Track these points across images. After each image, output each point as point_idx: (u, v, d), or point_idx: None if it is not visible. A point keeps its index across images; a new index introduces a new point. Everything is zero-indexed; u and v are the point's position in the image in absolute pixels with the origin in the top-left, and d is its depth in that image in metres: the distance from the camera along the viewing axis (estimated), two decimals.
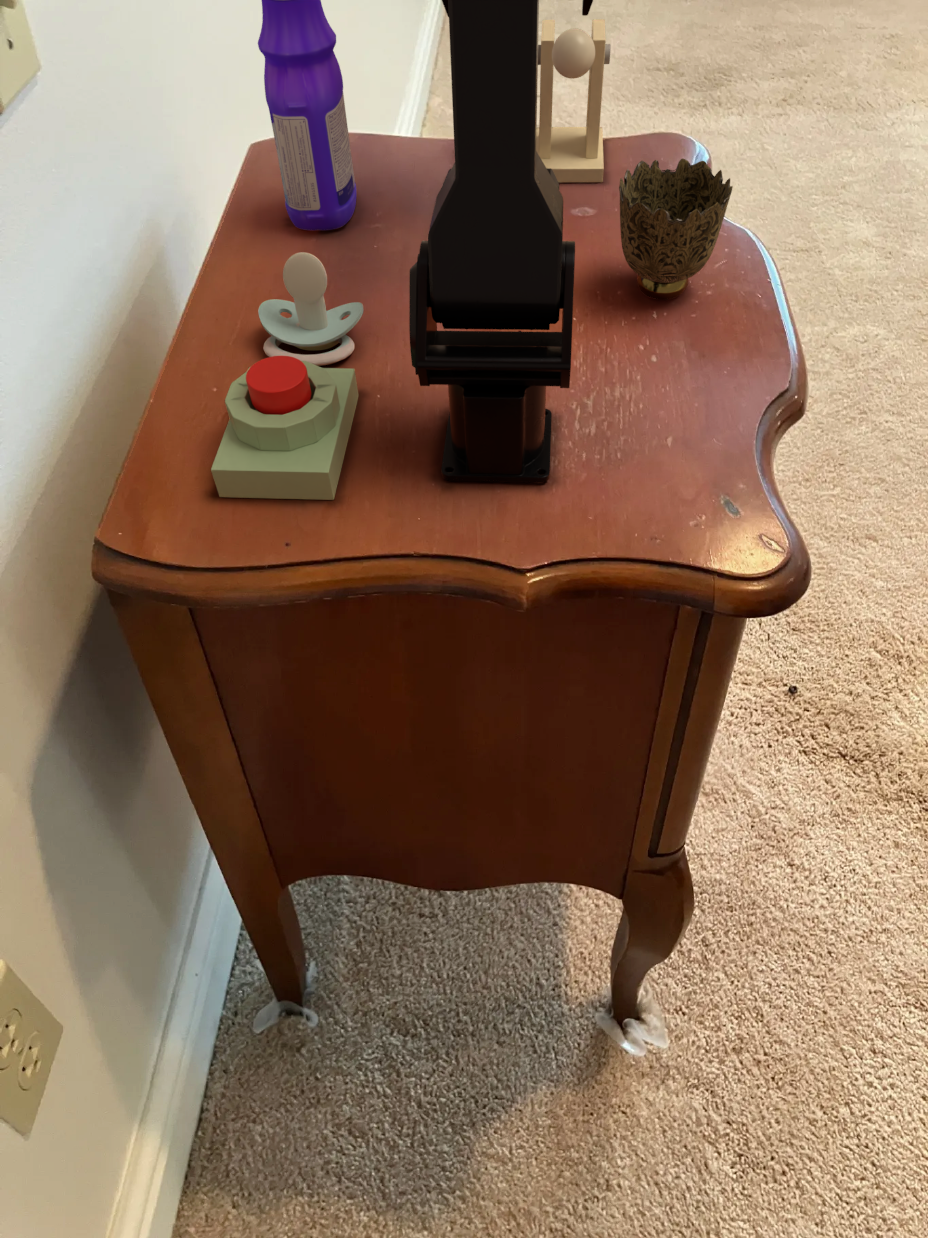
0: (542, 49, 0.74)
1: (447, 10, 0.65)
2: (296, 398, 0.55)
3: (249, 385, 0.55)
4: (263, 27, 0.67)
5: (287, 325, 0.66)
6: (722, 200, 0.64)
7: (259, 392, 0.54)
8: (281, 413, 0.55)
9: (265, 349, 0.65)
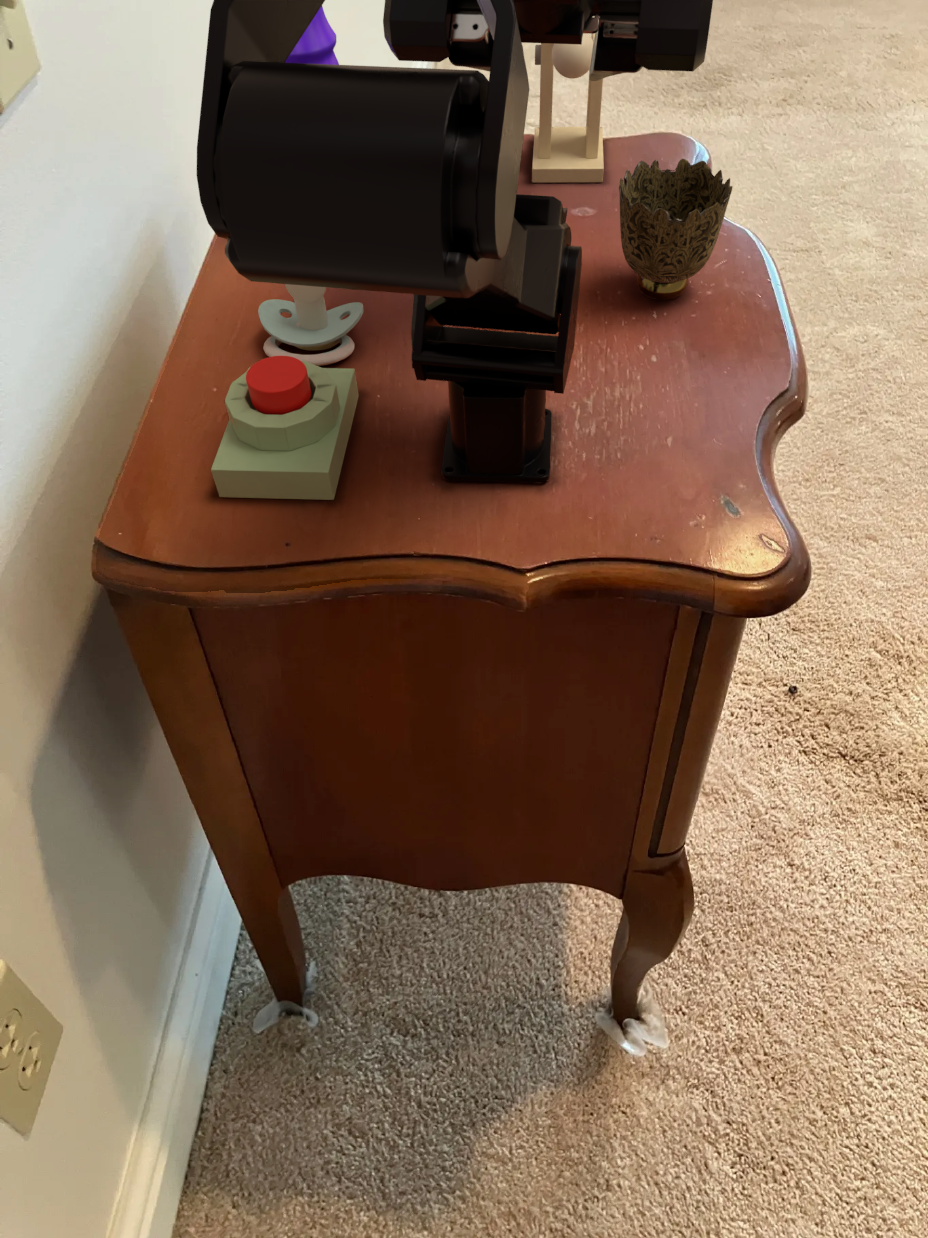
0: (542, 49, 0.74)
1: None
2: (296, 398, 0.55)
3: (249, 385, 0.55)
4: None
5: (287, 325, 0.66)
6: (722, 200, 0.64)
7: (259, 392, 0.54)
8: (281, 413, 0.55)
9: (265, 349, 0.65)
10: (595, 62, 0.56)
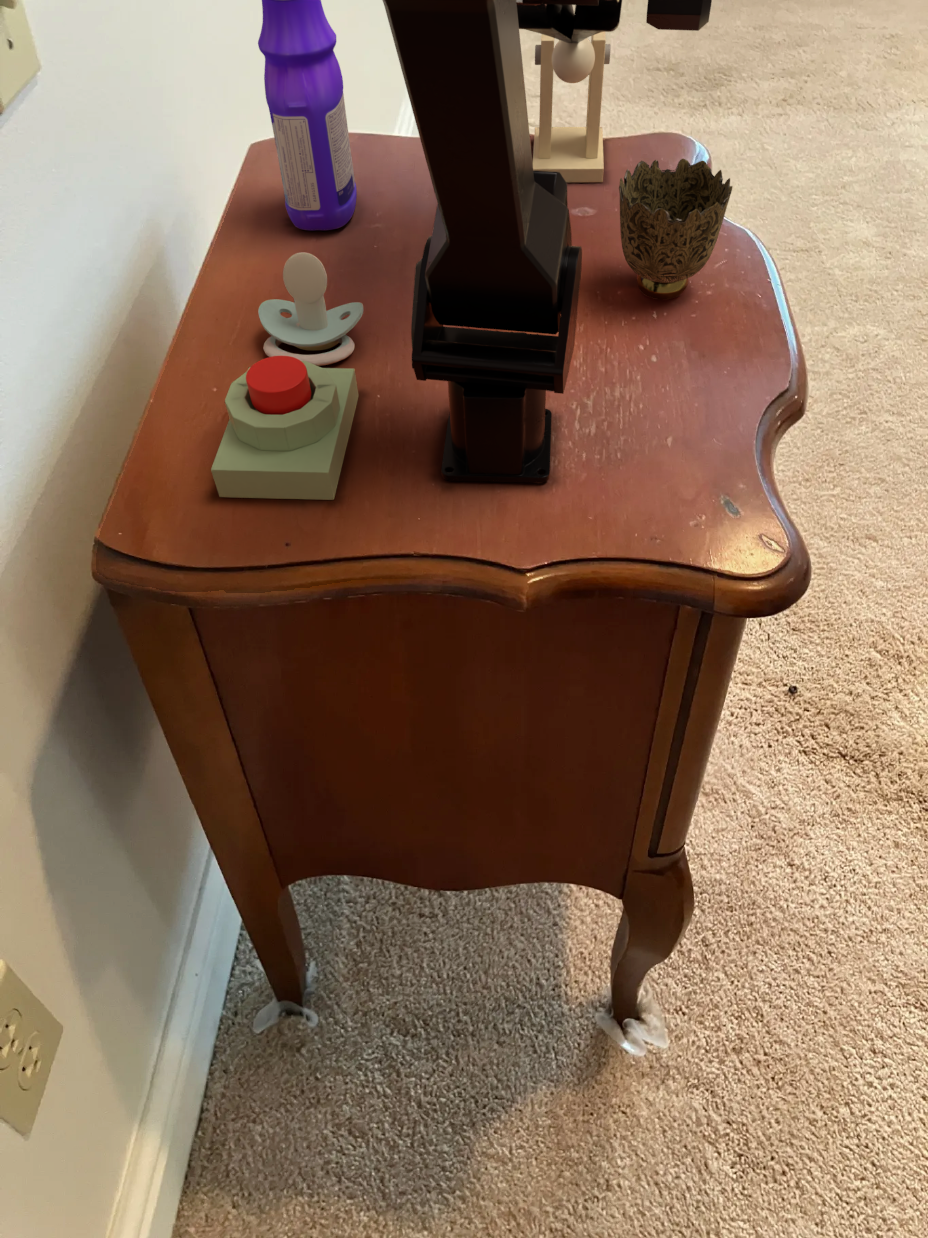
0: (542, 49, 0.74)
1: None
2: (296, 398, 0.55)
3: (249, 385, 0.55)
4: (263, 27, 0.67)
5: (287, 325, 0.66)
6: (722, 200, 0.64)
7: (259, 392, 0.54)
8: (281, 413, 0.55)
9: (265, 349, 0.65)
10: (575, 22, 0.62)
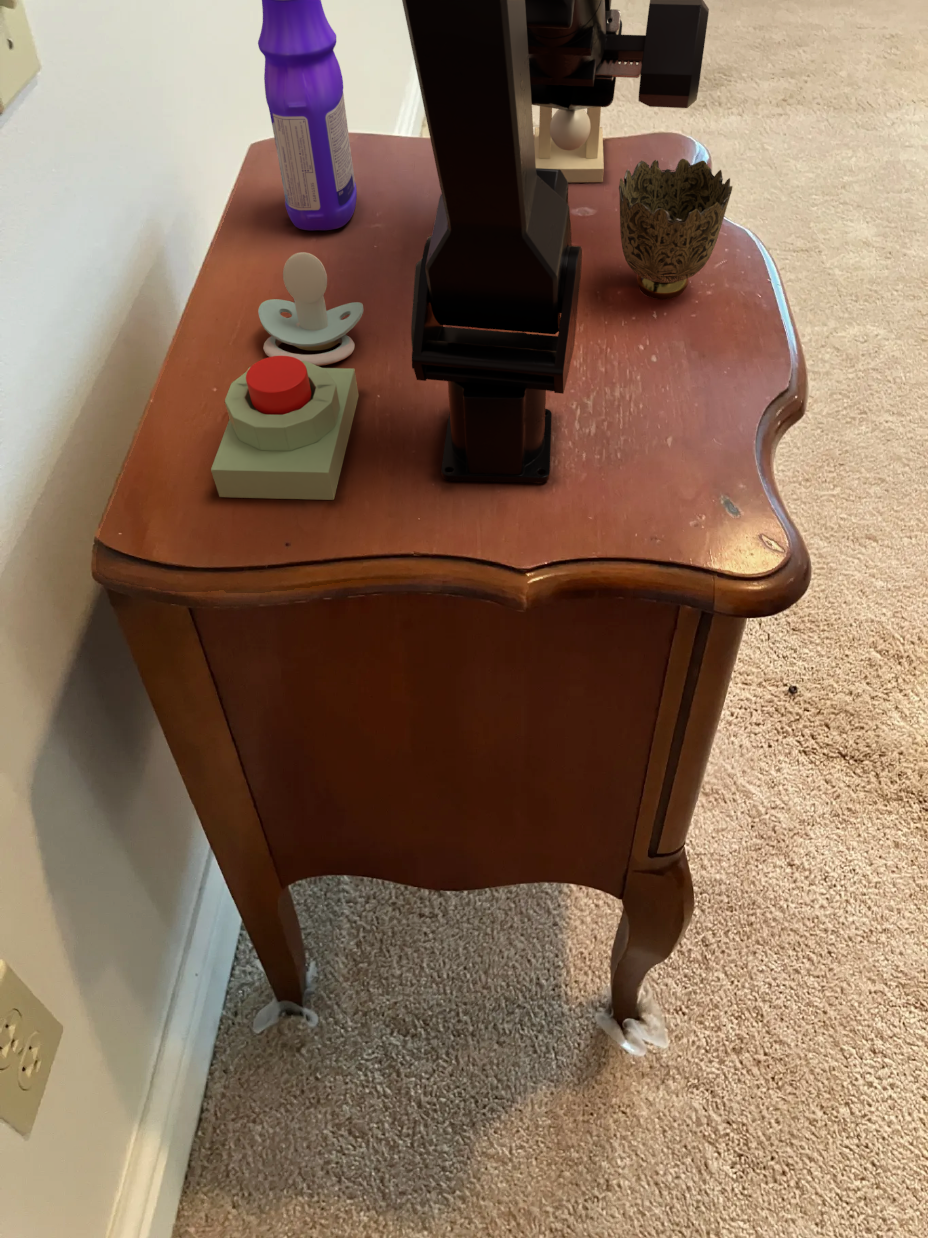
0: None
1: None
2: (296, 398, 0.55)
3: (249, 385, 0.55)
4: (263, 27, 0.67)
5: (287, 325, 0.66)
6: (722, 200, 0.64)
7: (259, 392, 0.54)
8: (281, 413, 0.55)
9: (265, 349, 0.65)
10: (572, 98, 0.66)
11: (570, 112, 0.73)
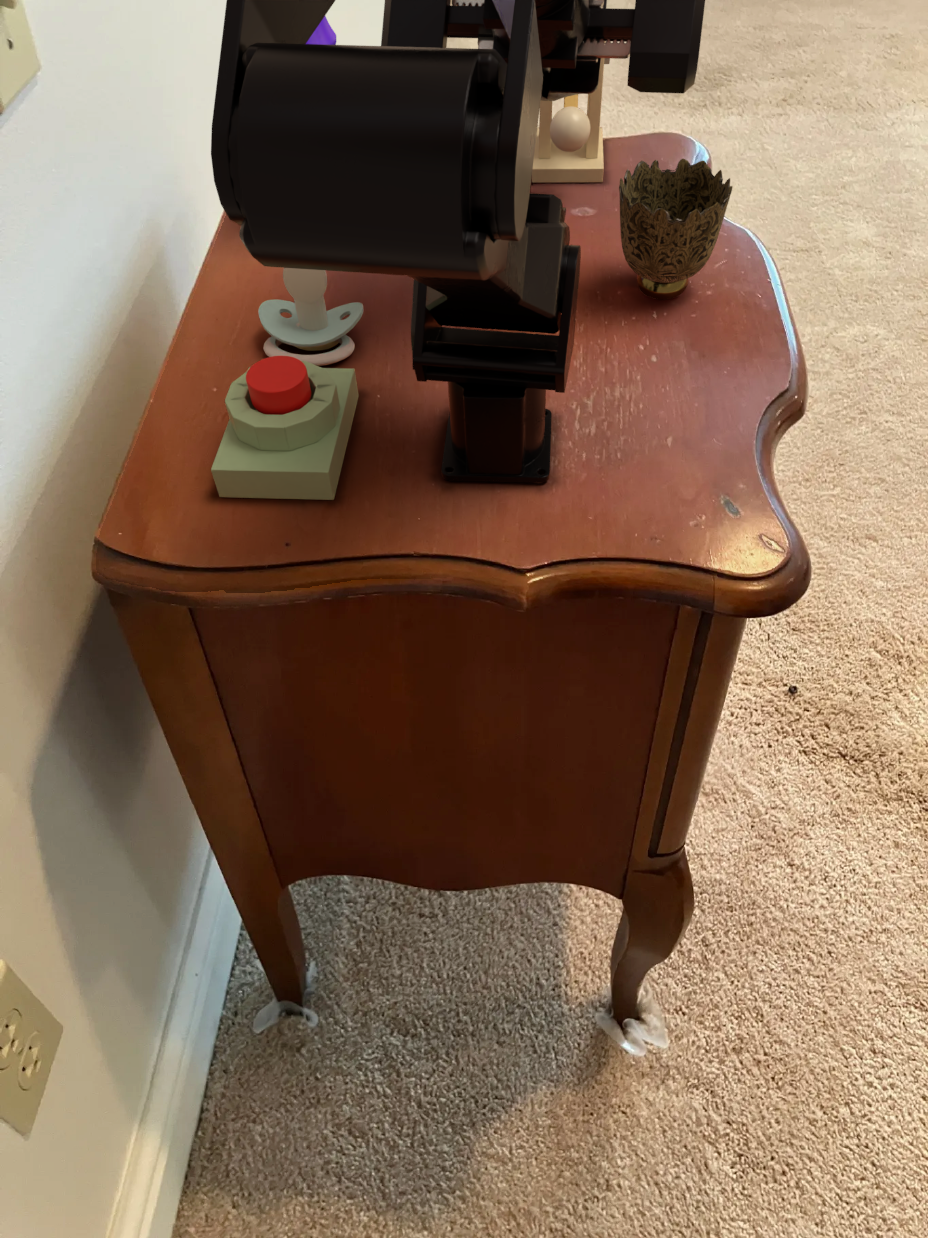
0: None
1: None
2: (296, 398, 0.55)
3: (249, 385, 0.55)
4: None
5: (287, 325, 0.66)
6: (722, 200, 0.64)
7: (259, 392, 0.54)
8: (281, 413, 0.55)
9: (265, 349, 0.65)
10: (551, 84, 0.57)
11: (570, 114, 0.73)
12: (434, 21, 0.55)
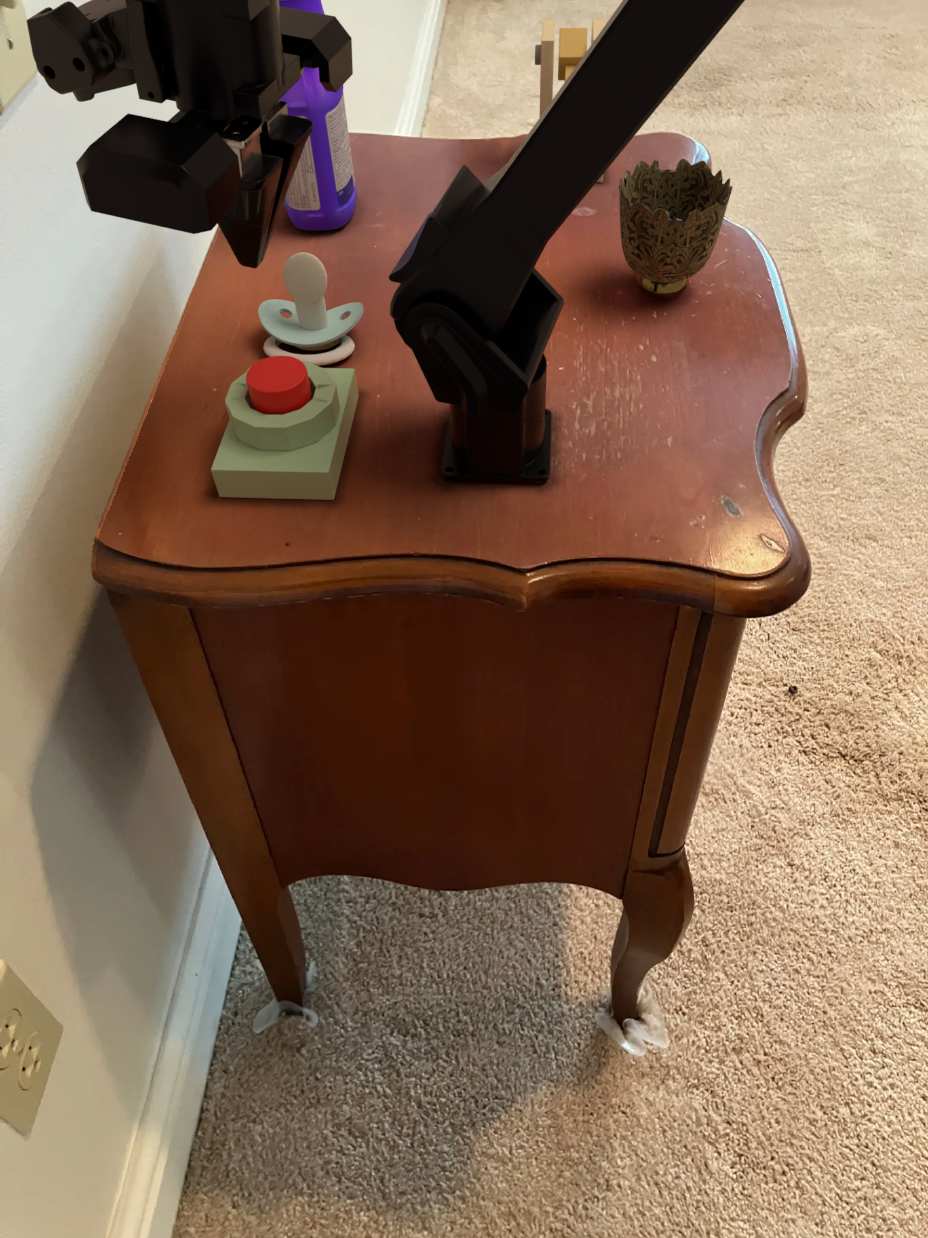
0: (542, 49, 0.74)
1: (259, 261, 0.53)
2: (296, 398, 0.55)
3: (249, 385, 0.55)
4: None
5: (287, 325, 0.66)
6: (722, 200, 0.64)
7: (259, 392, 0.54)
8: (281, 413, 0.55)
9: (265, 349, 0.65)
10: (288, 142, 0.48)
11: None
12: (180, 130, 0.42)
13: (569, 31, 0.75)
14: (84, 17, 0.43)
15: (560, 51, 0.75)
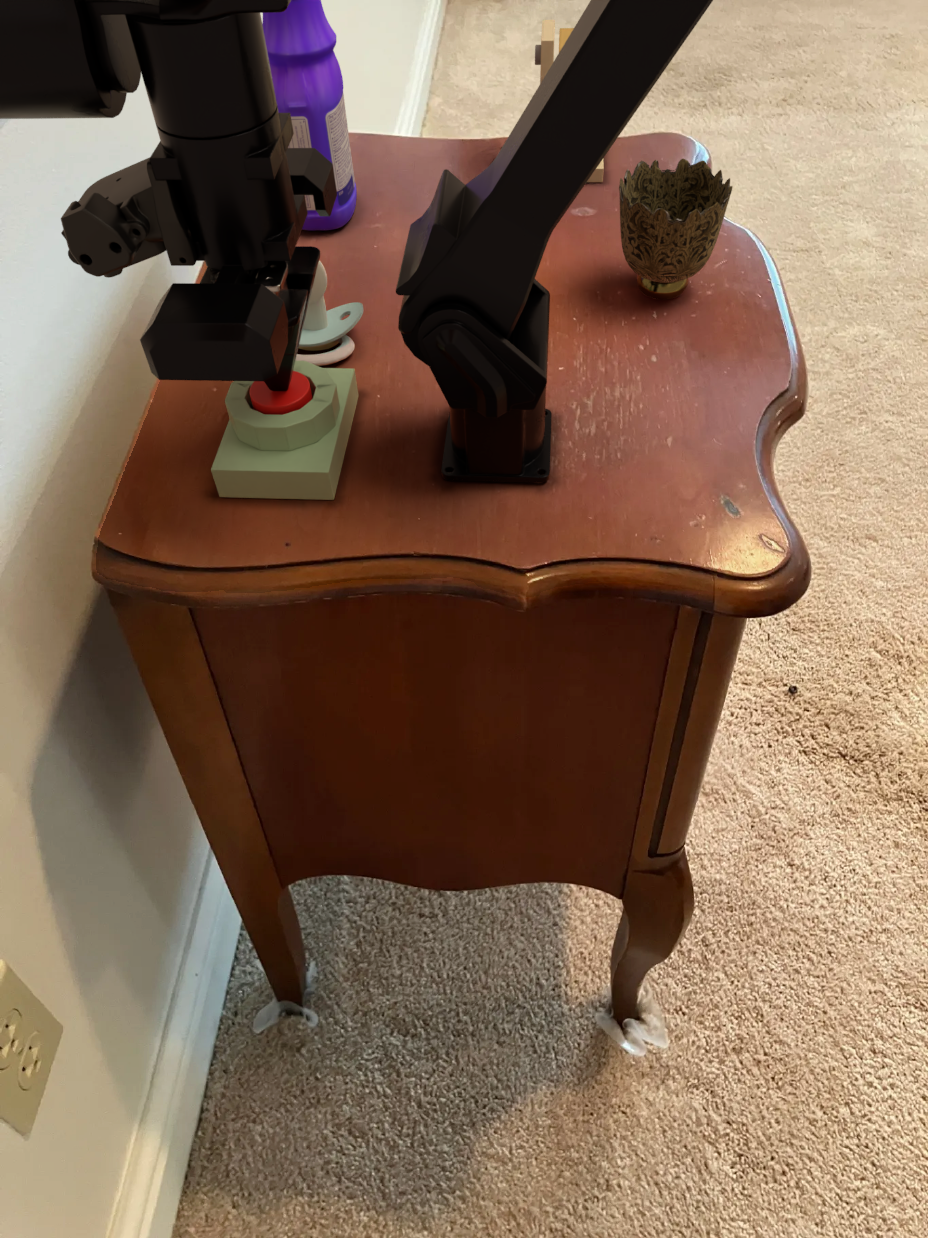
0: (542, 49, 0.74)
1: (289, 384, 0.55)
2: None
3: (253, 399, 0.56)
4: (263, 27, 0.67)
5: None
6: (722, 200, 0.64)
7: (262, 406, 0.55)
8: None
9: None
10: (305, 273, 0.51)
11: None
12: (229, 290, 0.44)
13: (569, 31, 0.75)
14: (111, 204, 0.45)
15: None
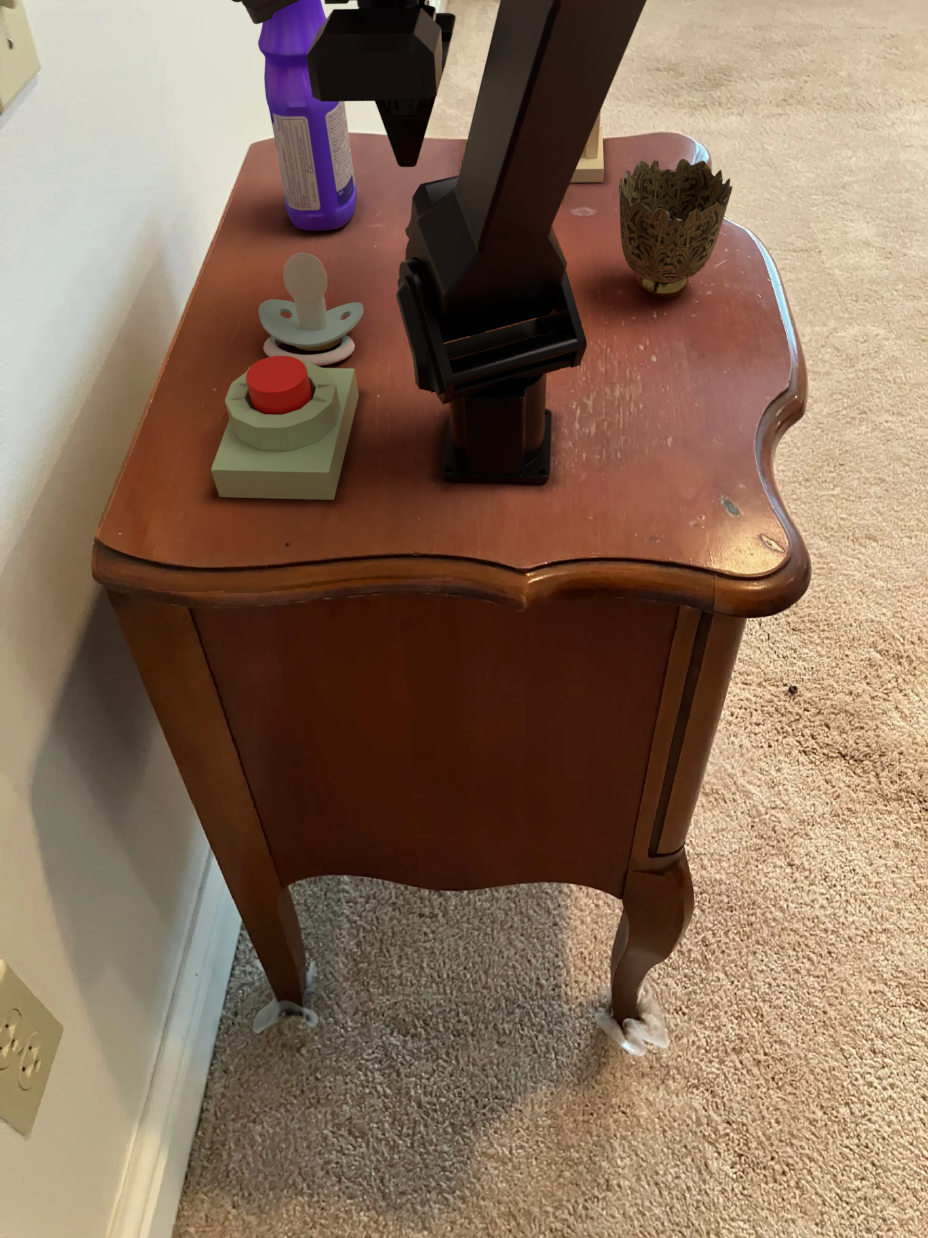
0: None
1: None
2: (296, 398, 0.55)
3: (249, 385, 0.55)
4: (263, 27, 0.67)
5: (287, 325, 0.66)
6: (722, 200, 0.64)
7: (259, 392, 0.54)
8: (281, 413, 0.55)
9: (265, 349, 0.65)
10: (445, 31, 0.52)
11: None
12: (390, 12, 0.46)
13: None
14: None
15: None
